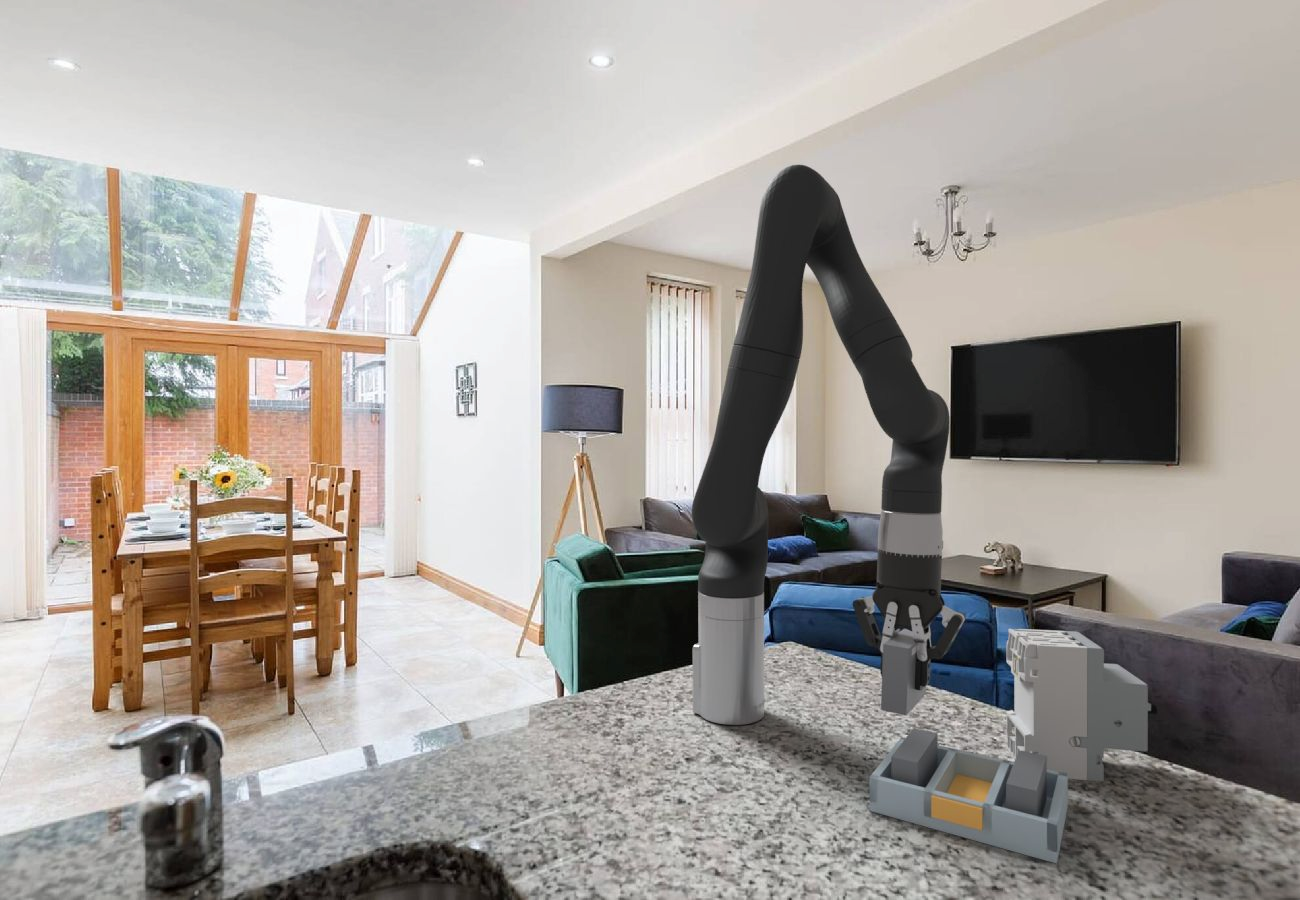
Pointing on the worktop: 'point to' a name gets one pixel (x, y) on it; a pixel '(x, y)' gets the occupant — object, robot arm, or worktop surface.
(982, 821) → the rack
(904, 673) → the rectangular block
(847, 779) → the worktop surface
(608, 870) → the worktop surface
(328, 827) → the worktop surface
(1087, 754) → the circuit breaker
